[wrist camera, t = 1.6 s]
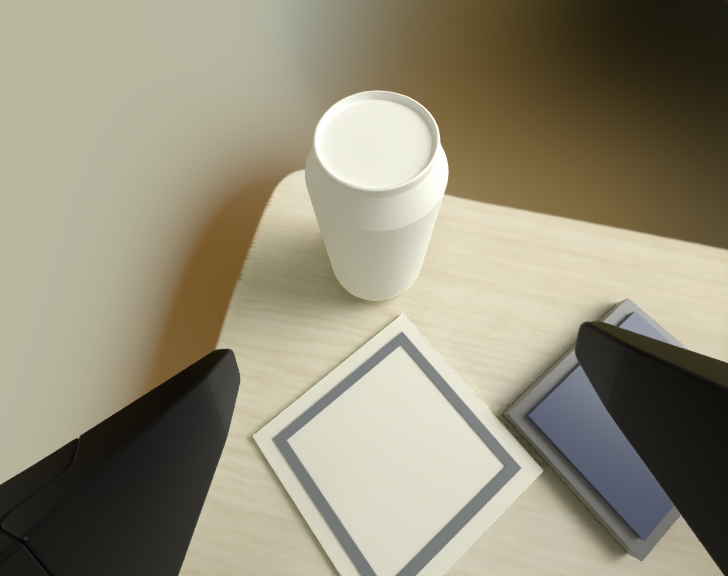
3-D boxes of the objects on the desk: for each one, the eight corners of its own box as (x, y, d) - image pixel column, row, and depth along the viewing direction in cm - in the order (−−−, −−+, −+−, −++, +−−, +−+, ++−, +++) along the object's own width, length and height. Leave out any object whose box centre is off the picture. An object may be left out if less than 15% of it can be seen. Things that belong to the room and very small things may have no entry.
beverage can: (432, 291, 24) (483, 181, 12) (345, 316, 23) (315, 225, 12) (404, 216, 26) (425, 63, 14) (324, 237, 25) (281, 98, 14)
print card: (381, 635, 17) (381, 640, 17) (253, 435, 21) (251, 436, 20) (541, 469, 20) (544, 471, 19) (402, 314, 23) (403, 312, 23)
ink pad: (628, 553, 18) (647, 564, 17) (502, 413, 21) (510, 413, 20) (745, 414, 20) (771, 414, 19) (617, 302, 23) (632, 296, 22)
